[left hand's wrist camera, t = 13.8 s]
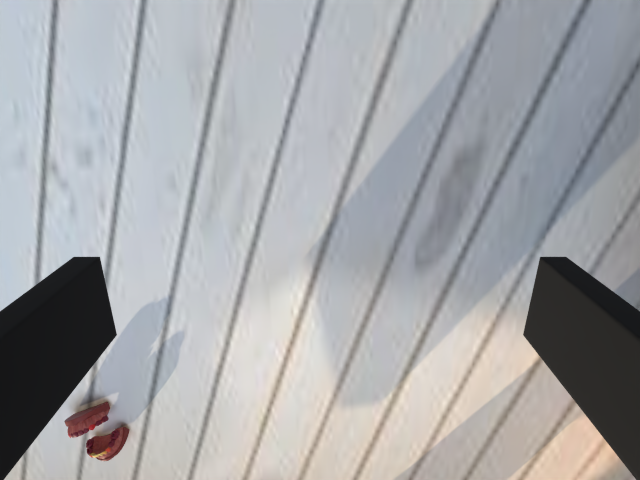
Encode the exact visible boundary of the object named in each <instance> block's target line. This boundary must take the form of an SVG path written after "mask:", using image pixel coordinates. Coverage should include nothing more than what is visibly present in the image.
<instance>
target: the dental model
mask: <svg viewBox="0 0 640 480" xmlns="http://www.w3.org/2000/svg"><path fill="white" fill-rule="evenodd" d="M109 410H110V407H109V404H108V402H105V403H103V404H100V405H97V406H94V407H92V408H89V409H86V410H84V411H81V412H78V413H76V414H73V415H72V416H70V417H69V418H67V419H66V420H65V424H66V426H67V427H68V435H69V437H70V438H71V437H73V438H74V437H78V436H81V435H83V434H85V433H87V432H88V431H89V430H93V429H94V428H95V426H99V425H100V424H102V422H103V423H104V422H106V421H107V420H108V416H107V414H108V412H109ZM128 433H129V429H128V428H126V427H121V428H117V429H115V430H114V431H113V432H112V434H109V435H106V436H94V437H93V438H91V439H89V440H88V441H87V443H86V448H87V454H88V455H89V456H90V457H95V458H97V459H98V460H102V461H108V460H110V459H112V458H113V457H114V456H116V455H117V454H118V453H119V452H120V450H121V449H122V448H123V446H124V444H125V442H126V440H127V437H128Z"/></svg>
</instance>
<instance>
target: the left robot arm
mask: <svg viewBox="0 0 640 480" xmlns="http://www.w3.org/2000/svg"><path fill="white" fill-rule="evenodd" d="M116 335H117V334H116V329H115V325H114V320H113V316H112V311H111V306H110V302H109V297H108V293H107V288H106V284H105V279H104V274H103V270H102V265H101V261H100V257H73V258H72V259H71V260H69V261H68V262H67V263H65V264H64V265H62V266H61V267H60V268H58V269H57V270H56V271H54V272H53V273H52V274H50V275H49V276H48V277H46V278H45V279H44V280H42V281H41V282H39V283H38V284H37V285H35V286H34V287H33V288H31V289H30V290H29V291H27V292H26V293H25V294H23V295H22V296H21V297H19V298H18V299H17V300H15V301H14V302H12V303H11V304H10V305H8V306H7V307H6V308H4V309H3V310H2V311H0V480H4V478H5V477H6V476H7V475H8V473H9V472H10V471H11V470H12V468H13V467H14V466H15V464H16V463H17V462H18V461H19V459H20V458H21V457H22V455H23V454H24V453H25V452H26V450H27V449H28V448H29V446H30V445H31V444H32V443H33V441H34V440H35V439H36V438H37V436H38V435H39V434H40V432H41V431H42V430H43V429H44V427H45V426H46V425H47V423H48V422H49V421H50V420H51V418H52V417H53V416H54V415H55V413H56V412H57V411H58V409H59V408H60V407H61V406H62V404H63V403H64V402H65V400H66V399H67V398H68V397H69V395H70V394H71V393H72V391H73V390H74V389H75V388H76V386H77V385H78V384H79V383H80V381H81V380H82V379H83V377H84V376H85V375H86V374H87V372H88V371H89V370H90V368H91V367H92V366H93V365H94V363H95V362H96V361H97V360H98V358H99V357H100V356H101V354H102V353H103V352H104V351H105V349H106V348H107V347H108V345H109V344H110V343H111V342H112V340H113V339H114V338H115V336H116ZM523 335H524V336H525V338H526V339H527V340H528V342H529V343H530V344H531V345H532V347H533V348H534V349H535V351H536V352H537V353H538V354H539V356H540V357H541V358H542V360H543V361H544V362H545V363H546V365H547V366H548V367H549V368H550V370H551V371H552V372H553V374H554V375H555V376H556V377H557V379H558V380H559V381H560V383H561V384H562V385H563V386H564V388H565V389H566V390H567V391H568V393H569V394H570V395H571V397H572V398H573V399H574V400H575V402H576V403H577V404H578V406H579V407H580V408H581V409H582V411H583V412H584V413H585V415H586V416H587V417H588V418H589V420H590V421H591V422H592V423H593V425H594V426H595V427H596V429H597V430H598V431H599V432H600V434H601V435H602V436H603V438H604V439H605V440H606V441H607V443H608V444H609V445H610V446H611V448H612V449H613V450H614V452H615V453H616V454H617V455H618V457H619V458H620V459H621V461H622V462H623V463H624V464H625V466H626V467H627V468H628V470H629V471H630V472H631V473H632V475H633V476H634V477H635V478H636V480H640V311H638V310H637V309H636V308H634V307H633V306H632V305H630V304H629V303H628V302H626V301H625V300H623V299H622V298H621V297H619V296H618V295H617V294H615V293H614V292H613V291H611V290H610V289H609V288H607V287H606V286H605V285H603V284H602V283H601V282H599V281H598V280H596V279H595V278H594V277H592V276H591V275H590V274H588V273H587V272H586V271H584V270H583V269H582V268H580V267H579V266H578V265H576V264H575V263H573V262H572V261H571V260H569V259H568V258H567V257H540V261H539V265H538V270H537V274H536V279H535V284H534V288H533V293H532V297H531V302H530V306H529V311H528V316H527V320H526V325H525V329H524V334H523Z"/></svg>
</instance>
